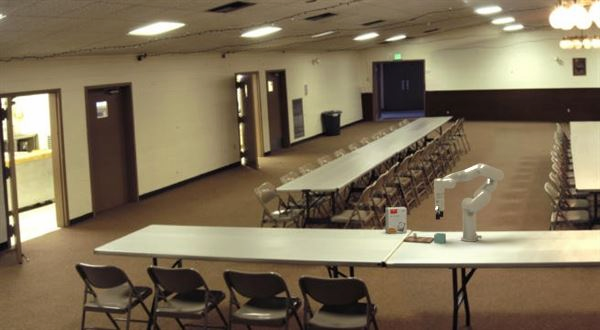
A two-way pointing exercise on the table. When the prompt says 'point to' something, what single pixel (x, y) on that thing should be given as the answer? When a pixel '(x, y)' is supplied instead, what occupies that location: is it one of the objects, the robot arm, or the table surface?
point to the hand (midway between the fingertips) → (439, 218)
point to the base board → (418, 239)
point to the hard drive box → (396, 220)
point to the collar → (439, 237)
